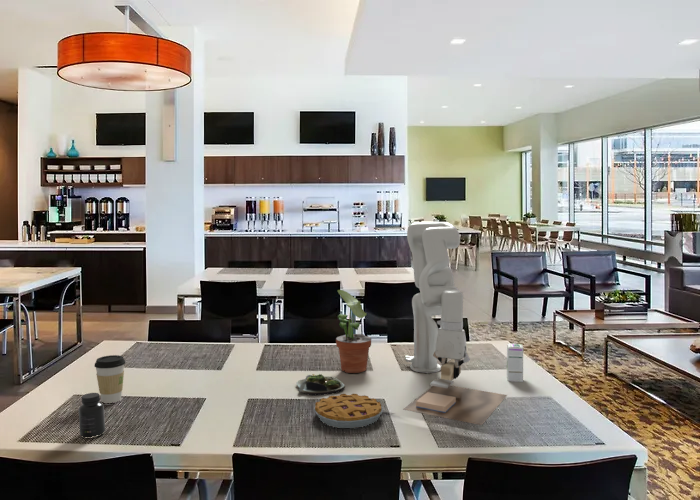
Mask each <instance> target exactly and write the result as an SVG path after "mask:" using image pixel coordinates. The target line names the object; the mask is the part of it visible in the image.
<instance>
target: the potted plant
mask: <svg viewBox="0 0 700 500" xmlns="http://www.w3.org/2000/svg"><path fill="white" fill-rule="evenodd" d="M337 293H338V295H340V297H341V298H342V299H343V301H344V302H345V303H346V304H345V305H346V306H347V308H350V310H349V315H347V314H345V313H343V314H341V313H340V314H337V319H338V321H339V324H338V325H339V327H340V328H341V329H342V330H344V333H345V334H343V335H340V336H337V337H335V343H336V344H335V345H336V347H337V348H338V352H339V353H338V354H339V361H340V366H341V368H340V369H341V371H342V372H345V373H347V374H348V373H349V374H358V373H359V374H360V373H364V372H366V370H367V367H368V359H369V351H370V348H371V346H372V337H371V336H367V335H365V334H363V333H355V334H354V330H355V331H356V330H359V327H360V322H356V321H355V317H357V318H359V319H363V318H365V317H366V316H367V312H365V311H364V309H363V308H362V303H361V300H358V299H357V298H356V297H354V296H353V295H352V294H351V293H349V292H348V291H345V290H344V289H343V290H342V289H337ZM348 316H349V317H348ZM347 323H348V324H347ZM347 325H348V327H347Z"/></svg>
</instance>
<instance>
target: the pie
mask: <svg viewBox="0 0 700 500" xmlns="http://www.w3.org/2000/svg"><path fill="white" fill-rule="evenodd" d="M383 410H384V407H383V405H382V404H381V402H380V401H378V400H377V399H376V398H373V397H372V398H370V397H369V396H368V395H365V394H364V395H360V394H358V393H352V394H346V393H339V395H329V396H328V397H326V398H325V397H322V398H320V399H319V401H316V402H315V404H314V407H313V411H314V412H315V413H316V416H317V417H318V418H320V419H319V420H320V422H321V421H322V422H324V423H326V424H327V425H326V424H325V425H326V426H328V425H330V426H334V427H338V428H354V427H362V426H365V427H367V426H366V425H368V426H370V425H369V424H371V425H373V424H374V422H375V421H376V422H377V420H378V421H379V419H380V416H381V415H382V414H383ZM322 422H321V423H322ZM376 422H375V423H376ZM324 423H323V424H324ZM372 423H373V424H372ZM330 426H329V427H330ZM334 427H333V428H334ZM362 428H363V427H362ZM354 429H355V428H354Z"/></svg>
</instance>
